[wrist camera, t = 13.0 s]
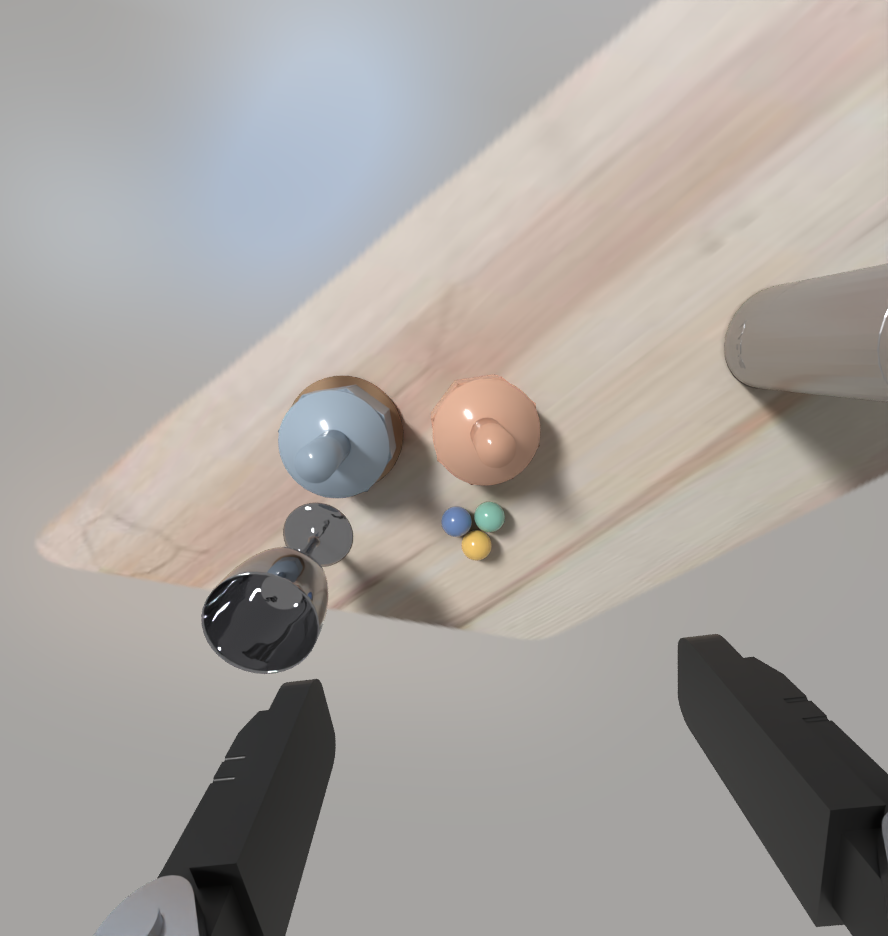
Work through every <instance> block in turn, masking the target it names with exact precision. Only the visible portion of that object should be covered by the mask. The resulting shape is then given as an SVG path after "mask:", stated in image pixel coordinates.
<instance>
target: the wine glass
mask: <svg viewBox="0 0 888 936" xmlns="http://www.w3.org/2000/svg"><path fill="white" fill-rule="evenodd" d="M283 537H284V541H285V544H286V546H287V547H277V548H272V549H268V550H265V551H263V552H260V553H258V554H256V555H254V556H252V557H251V558H249V559H247V560H246V561H244V562H243V563H241V564H240V565H239V566H237V567H236V568H235V569H234V570H233V571H231V572H230V573H229V574H228V575H227V576H226V577H225V578H224V579H223V580H222V581H221V582H220V583H219V584H218V585H217V586H216V587H215V588H214V590H213V591H212V592H211V594H210V595H209V596H208V598H207V600H206V602H205V604H204V607H203V611H202V628H203V632H204V635H205V637H206V640H207V642H208V643H209V645H210V646H211V648H212V649H213V650H214V651H215V652H216V654H217V655H218V656H220V657H221V658H222V659H223V660H225V661H226V662H227V663H229V664H231V665H233V666H234V667H237V668H239V669H242V670H244V671H248V672H253V673H261V674H270V673H278V672H282V671H285V670H288V669H290V668H293V667H294V666H296V665H298V664H299V663H300V662H302V661H303V660H304V659H305V658H306V657H307V656H308V654H309V653H310V652H311V651H312V649H313V647H314V645H315V643H316V641H317V639H318V636H319V634H320V632H321V629H322V625H323V623H324V619H325V616H326V611H327V605H328V582H327V578H326V575H325V572H324V570H323V568H322V566H329V565H332V564H335V563H337V562H339V561H340V560H342V559H343V558H344V557H345V556H346V555H347V553H348V552H349V550H350V548H351V545H352V541H353V533H352V528H351V525H350V523H349V521H348V520H347V518H346V517H345V516H344V515H343V514H342V513H341V512H340V511H339V510H337V509H336V508H334V507H332V506H330V505H327V504H323V503H309V504H304V505H302V506H300V507H298V508H296V509H295V510H294V511H293V512H292V513H290V515H289V516H288V518H287V519H286V521H285V524H284V528H283Z"/></svg>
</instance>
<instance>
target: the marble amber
mask: <svg viewBox="0 0 888 936" xmlns="http://www.w3.org/2000/svg"><path fill="white" fill-rule="evenodd" d="M462 550H463V552H464V554H465V555H466V556H467V557H468V558H469V559H471V560H482V559H484V558H486V557H487V556H488V555H489V553H490V551H491V540H490V538H489V537H488V535H487V534H486V533H484V532H482V531H479V530H474V531H471V532H469V533H467V534H466V535H465V536H464V538H463V540H462Z"/></svg>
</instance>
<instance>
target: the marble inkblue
mask: <svg viewBox="0 0 888 936" xmlns="http://www.w3.org/2000/svg"><path fill="white" fill-rule="evenodd" d="M441 523H442V527H443V529H444V531H445V532H446V533H447V534H448V535H450V536H453V537H460V536H463V535H465V534H466V533H467V532H468V531H469V530H470V527H471V524H472V520H471V516H470V514H469V512H468V511H467V510H466V509H464V508H462V507H457V506H456V507H451V508H449V509H447V510H446V511H445V512H444V514H443V516H442V520H441Z"/></svg>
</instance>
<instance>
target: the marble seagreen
mask: <svg viewBox="0 0 888 936" xmlns="http://www.w3.org/2000/svg"><path fill="white" fill-rule="evenodd" d="M474 519H475V523H476V525H477V526H478V527H479V528H480V529H481V530H483V531H485V532H494V531H497V530H498V529H500V528H501V526H502V525H503V523H504V520H505V515H504V511H503V509H502V508H501V507H500V506H499V505H498V504H497V503H494V502H485V503H482V504H481V505H479V506H478V507H477V509H476V511H475V514H474Z"/></svg>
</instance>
